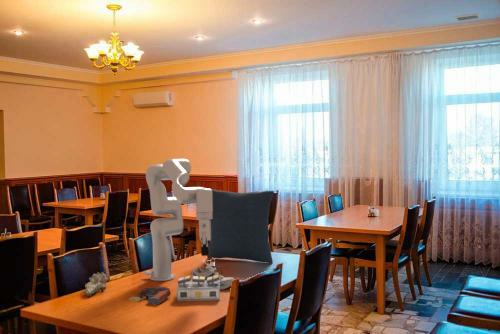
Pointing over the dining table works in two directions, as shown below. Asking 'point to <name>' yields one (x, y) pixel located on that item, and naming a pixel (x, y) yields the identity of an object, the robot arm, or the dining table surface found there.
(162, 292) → the toy gun
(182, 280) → the switch
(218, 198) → the pillow
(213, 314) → the dining table surface
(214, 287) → the switch unit
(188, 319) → the dining table surface
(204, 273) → the athletic shoe
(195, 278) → the switch
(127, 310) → the dining table surface
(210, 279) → the switch
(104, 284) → the skull
